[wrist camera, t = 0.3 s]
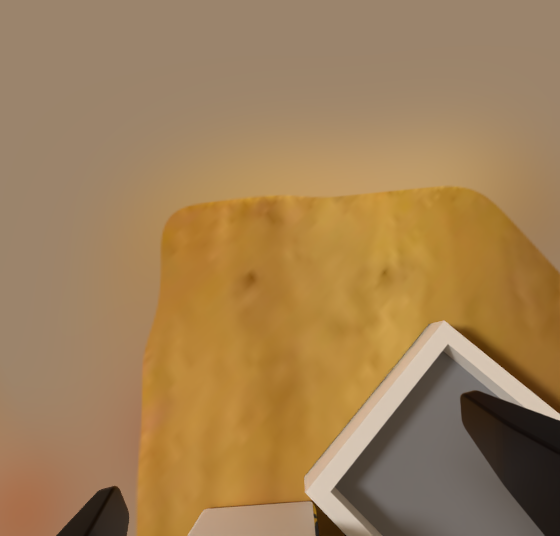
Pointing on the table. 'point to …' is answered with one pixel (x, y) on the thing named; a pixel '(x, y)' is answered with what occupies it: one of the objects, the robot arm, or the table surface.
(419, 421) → the walled box
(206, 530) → the medicine bottle
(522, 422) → the robot arm
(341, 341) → the table surface
